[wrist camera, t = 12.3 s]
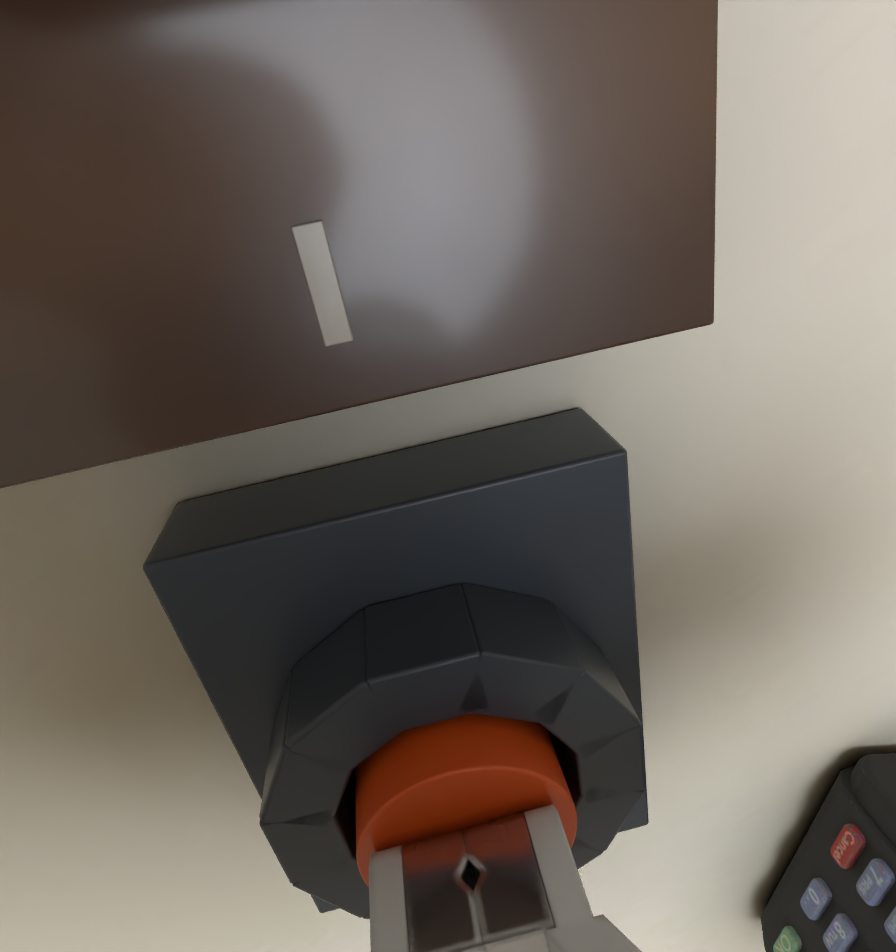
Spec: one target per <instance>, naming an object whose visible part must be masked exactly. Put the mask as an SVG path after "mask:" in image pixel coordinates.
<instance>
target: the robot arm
mask: <svg viewBox="0 0 896 952" xmlns="http://www.w3.org/2000/svg"><path fill="white" fill-rule="evenodd" d="M369 901H370V938H371V952H641V951H640V950H639V949H638V948H637V947H636V946H635V945H634V944H633V943H632V942H631V941H630V940H629V939H628V938H627V937H626V936H625V935H624V934H623V933H622V932H621V931H620V930H618V929H617V928H616V927H615V926H614V925H613V924H612V923H611V922H610V921H609V920H608V919H607V918H606V917H605V916H604V915H599V916H595V917H593V914H592V911H591V908H590V905H589V902H588V900H587V897H586V894H585V891H584V888H583V885H582V882H581V879H580V876H579V873H578V870H577V867H576V864H575V861H574V858H573V855H572V852H571V849H570V846H569V843H568V840H567V837H566V834H565V831H564V828H563V825H562V822H561V819H560V816H559V813H558V811H557V809H556V808H555V806H554V804H550V805H547V806H543V807H539V808H536V809H532V810H529V811H525V812H524V813H523V812H519V813H515V814H512V815H509V816H505V817H502V818H498V819H495V820H491V821H488V822H484V823H481V824H478V825H474V826H471V827H467V828H464V829H462V830H458V831H454V832H451V833H447V834H443V835H440V836H436V837H432V838H428V839H425V840H421V841H417V842H413V843H410V844H406V845H399V846H396V847H392V848H389V849H385V850H382V851H378V852H374V853H371V855H370V861H369Z"/></svg>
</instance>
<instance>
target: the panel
mask: <svg viewBox="0 0 896 952" xmlns="http://www.w3.org/2000/svg"><path fill="white" fill-rule="evenodd" d="M717 22H718V0H0V488H5V487H9V486H13V485H18V484H22V483H26V482H31V481H35V480H39V479H44V478H48V477H52V476H57V475H61V474H65V473H70V472H74V471H78V470H83V469H87V468H91V467H96V466H100V465H104V464H109V463H113V462H117V461H122V460H126V459H130V458H135V457H139V456H143V455H148V454H152V453H156V452H161V451H165V450H169V449H174V448H178V447H182V446H187V445H191V444H195V443H200V442H204V441H208V440H213V439H217V438H221V437H226V436H230V435H234V434H239V433H243V432H247V431H252V430H256V429H260V428H265V427H269V426H273V425H278V424H282V423H286V422H291V421H295V420H299V419H304V418H308V417H312V416H317V415H321V414H325V413H330V412H334V411H338V410H343V409H347V408H351V407H356V406H360V405H364V404H369V403H373V402H377V401H382V400H386V399H390V398H395V397H399V396H403V395H408V394H412V393H416V392H421V391H425V390H429V389H434V388H438V387H442V386H447V385H451V384H455V383H460V382H464V381H468V380H473V379H477V378H481V377H486V376H490V375H494V374H498V373H503V372H507V371H511V370H516V369H520V368H524V367H529V366H533V365H537V364H542V363H546V362H550V361H555V360H559V359H563V358H568V357H572V356H576V355H581V354H585V353H589V352H594V351H598V350H602V349H607V348H611V347H615V346H620V345H624V344H628V343H633V342H637V341H641V340H646V339H650V338H654V337H659V336H663V335H667V334H672V333H676V332H680V331H685V330H689V329H693V328H698V327H702V326H706V325H710V324H712V323H713V321H714V254H715V177H716V99H717Z"/></svg>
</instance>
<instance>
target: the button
mask: <svg viewBox="0 0 896 952" xmlns="http://www.w3.org/2000/svg"><path fill="white" fill-rule="evenodd" d="M355 783H356V858H357V866H358V869H359V872H360V874H361V876H362V878H363V880H364V882H365V884H366V885H367V886H368V887H369V861H370V855H371V853H374V852H378V851H382V850H385V849H389V848H392V847H396V846H399V845H406V844H410V843H413V842H417V841H421V840H425V839H428V838H432V837H436V836H440V835H443V834H447V833H451V832H454V831H458V830H462V829H464V828H467V827H471V826H474V825H478V824H481V823H484V822H488V821H491V820H495V819H498V818H502V817H505V816H509V815H512V814H515V813H519V812H523V813H524V812H525V811H529V810H532V809H536V808H539V807H543V806H547V805H550V804H554V806H555V808H556V809H557V811H558V813H559V816H560V819H561V822H562V825H563V828H564V831H565V834H566V837H567V840H568V843H569V846H570V849H571V847H572V845H573V842H574V840H575V837H576V831H577V812H576V808H575V805H574V802H573V799H572V797H571V794H570V791H569V788H568V786H567V783H566V780H565V777H564V775H563V772H562V769H561V766H560V764H559V761H558V758H557V756H556V753H555V750H554V747H553V745H552V742H551V739H550V736H549V734H548V731H547V729H546V728H545V727H543V726H542V725H541V724H540V723H537V722H530V721H523V720H515V719H508V718H501V717H494V716H487V715H480V714H473V713H471V714H467V715H463V716H459V717H456V718H452V719H448V720H444V721H440V722H436V723H432V724H429V725H425V726H421V727H417V728H413V729H409V730H405V731H402V732H401V733H400V734H398V735H397V736H396V737H395V738H393V739H392V740H391V741H389V742H388V743H387V744H385V745H384V746H383V747H381V748H380V749H379V750H377V751H376V752H375V753H374V754H372V755H371V756H370V757H368V758H367V759H366V760H364V761H363V762H362V763H360V764H359V765H358V766H356V767H355Z"/></svg>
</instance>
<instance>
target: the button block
mask: <svg viewBox="0 0 896 952" xmlns="http://www.w3.org/2000/svg"><path fill="white" fill-rule="evenodd" d="M143 570H144V572H145V574H146V576H147V578H148V580H149V582H150V583H151V585H152V587H153V589H154V591H155V593H156V595H157V597H158V599H159V601H160V603H161V605H162V607H163V609H164V611H165V613H166V615H167V616H168V618H169V620H170V622H171V624H172V626H173V628H174V630H175V632H176V634H177V636H178V638H179V640H180V642H181V644H182V646H183V648H184V649H185V651H186V653H187V655H188V657H189V659H190V661H191V663H192V665H193V667H194V669H195V671H196V673H197V675H198V677H199V679H200V681H201V682H202V684H203V686H204V688H205V690H206V692H207V694H208V696H209V698H210V700H211V702H212V704H213V706H214V708H215V710H216V712H217V714H218V715H219V717H220V719H221V721H222V723H223V725H224V727H225V729H226V731H227V733H228V735H229V737H230V739H231V741H232V743H233V745H234V747H235V748H236V750H237V752H238V754H239V756H240V758H241V760H242V762H243V764H244V766H245V768H246V770H247V772H248V774H249V776H250V778H251V780H252V782H253V783H254V785H255V787H256V789H257V791H258V793H259V795H260V797H261V799H262V803H261V810H260V826H261V828H262V830H263V832H264V834H265V836H266V838H267V840H268V841H269V843H270V845H271V847H272V849H273V851H274V853H275V855H276V856H277V858H278V860H279V862H280V864H281V866H282V868H283V870H284V871H285V873H286V875H287V877H288V879H289V881H290V883H292V884H293V886H295V887H297V888H299V889H301V890H303V891H305V892H307V893H309V894H311V896H312V898H313V900H314V902H315V904H316V906H317V908H318V910H319V912H320V913H324V912H328V911H332V910H335V909H339V908H341V909H343V910H345V911H347V912H349V913H351V914H353V915H355V916H358V917H363V918H364V919H370V901H369V887H368V886H367V885H366V884H365V882H364V880H363V878H362V876H361V874H360V872H359V869H358V866H357V858H356V783H355V767H356V766H358V765H359V764H360V763H362V762H363V761H364V760H366V759H367V758H368V757H370V756H371V755H372V754H374V753H375V752H376V751H377V750H379V749H380V748H381V747H383V746H384V745H385V744H387V743H388V742H389V741H391V740H392V739H393V738H395V737H396V736H397V735H398V734H400V733H401V732H402V731H405V730H409V729H413V728H417V727H421V726H425V725H429V724H432V723H436V722H440V721H444V720H448V719H452V718H456V717H459V716H463V715H467V714H471V713H473V714H480V715H487V716H494V717H501V718H508V719H515V720H523V721H530V722H537V723H540V724H541V725H542V726H543V727H545V728H546V729H547V731H548V734H549V736H550V739H551V742H552V745H553V747H554V750H555V753H556V756H557V758H558V761H559V764H560V766H561V769H562V772H563V775H564V777H565V780H566V783H567V786H568V788H569V791H570V794H571V797H572V799H573V802H574V805H575V808H576V812H577V831H576V837H575V840H574V842H573V845H572V847H571V852H572V855H573V858H574V861H575V864H576V867H577V869H579V868H580V867H582V866H584V865H585V864H587V863H588V862H590V861H591V860H593V859H594V858H596V857H597V856H599V855H600V854H602V853H603V851H604V850H606V849H607V848H608V846H609V845H610V843H611V841H612V840H613V838H614V837H615V835H616V834H617V833H618V832H622V831H625V830H629V829H633V828H636V827H640V826H644V825H647V824H648V806H647V789H646V772H645V755H644V737H643V720H642V703H641V686H640V669H639V652H638V635H637V618H636V601H635V584H634V567H633V550H632V533H631V515H630V498H629V481H628V464H627V452H626V450H625V449H624V448H623V447H622V446H621V445H620V444H619V443H618V442H617V441H616V440H615V439H614V438H613V437H612V436H611V435H610V434H608V433H607V432H606V431H605V430H604V429H603V428H602V427H601V426H600V425H599V424H598V423H597V422H596V421H595V420H594V419H592V418H591V417H590V416H589V415H588V414H587V413H586V412H585V411H584V410H583V409H580V408H579V409H574V410H570V411H566V412H562V413H557V414H553V415H549V416H545V417H540V418H536V419H532V420H528V421H523V422H519V423H515V424H511V425H507V426H502V427H498V428H494V429H490V430H485V431H481V432H477V433H473V434H468V435H464V436H460V437H456V438H451V439H447V440H443V441H439V442H434V443H430V444H426V445H422V446H417V447H413V448H409V449H405V450H400V451H396V452H392V453H388V454H383V455H379V456H375V457H371V458H366V459H362V460H358V461H354V462H349V463H345V464H341V465H337V466H332V467H328V468H324V469H320V470H315V471H311V472H307V473H303V474H298V475H294V476H290V477H286V478H281V479H277V480H273V481H269V482H264V483H260V484H256V485H252V486H247V487H243V488H239V489H235V490H230V491H226V492H222V493H218V494H213V495H209V496H205V497H201V498H196V499H192V500H188V501H184V502H180V503H178V504H176V506H175V508H174V510H173V512H172V514H171V515H170V517H169V519H168V521H167V523H166V524H165V526H164V528H163V530H162V532H161V533H160V535H159V537H158V539H157V541H156V542H155V544H154V546H153V548H152V550H151V552H150V553H149V555H148V557H147V559H146V561H145V562H144V564H143Z"/></svg>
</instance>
